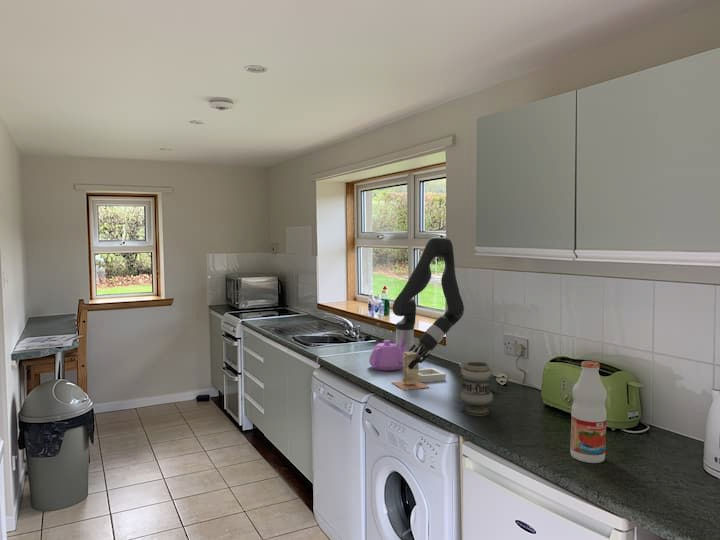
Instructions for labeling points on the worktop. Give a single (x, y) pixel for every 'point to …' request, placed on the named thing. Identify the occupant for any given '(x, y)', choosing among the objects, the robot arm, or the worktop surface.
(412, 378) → the beech block
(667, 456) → the worktop surface
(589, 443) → the fruit juice
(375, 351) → the teapot
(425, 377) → the collar frame
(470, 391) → the apothecary jar
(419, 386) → the mat
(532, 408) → the worktop surface
